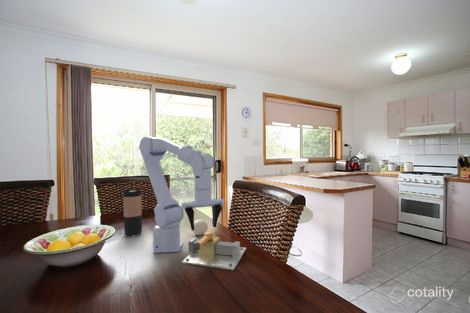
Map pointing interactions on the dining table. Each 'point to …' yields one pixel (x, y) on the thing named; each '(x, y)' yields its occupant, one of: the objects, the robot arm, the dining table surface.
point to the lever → (203, 240)
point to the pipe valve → (216, 247)
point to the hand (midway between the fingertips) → (203, 227)
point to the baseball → (200, 227)
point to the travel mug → (132, 212)
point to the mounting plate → (214, 260)
